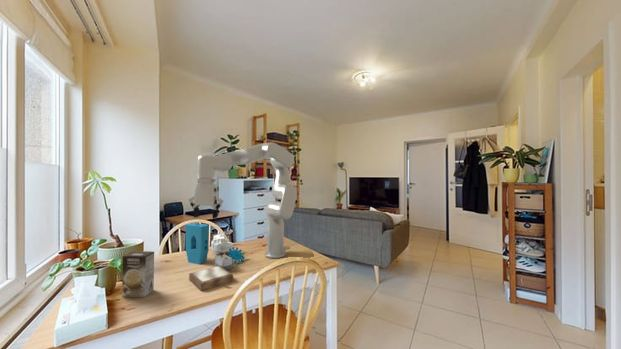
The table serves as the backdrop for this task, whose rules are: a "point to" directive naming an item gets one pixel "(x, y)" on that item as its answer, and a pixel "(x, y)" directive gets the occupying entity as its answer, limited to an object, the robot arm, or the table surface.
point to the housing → (224, 262)
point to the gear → (236, 255)
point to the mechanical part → (221, 244)
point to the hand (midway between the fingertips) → (205, 217)
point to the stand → (210, 278)
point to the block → (197, 242)
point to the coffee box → (138, 274)
